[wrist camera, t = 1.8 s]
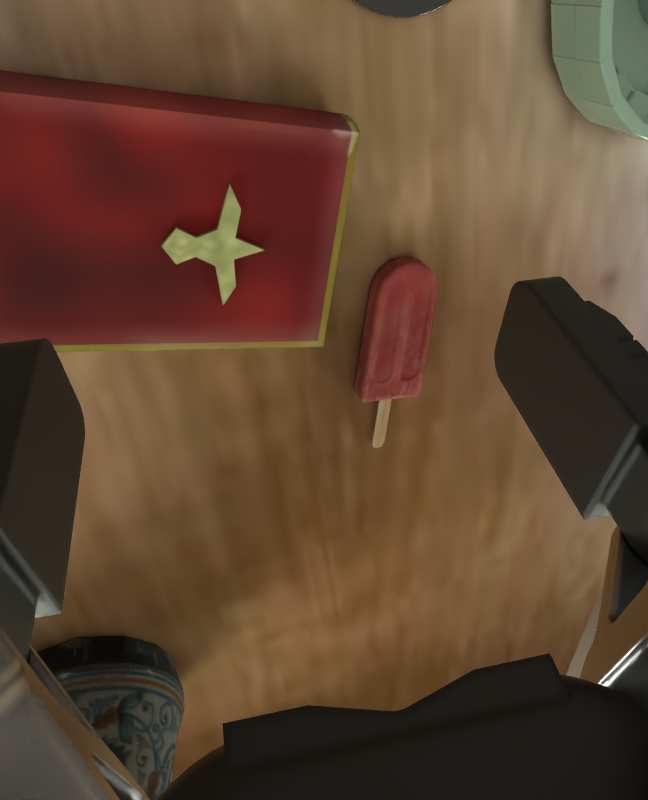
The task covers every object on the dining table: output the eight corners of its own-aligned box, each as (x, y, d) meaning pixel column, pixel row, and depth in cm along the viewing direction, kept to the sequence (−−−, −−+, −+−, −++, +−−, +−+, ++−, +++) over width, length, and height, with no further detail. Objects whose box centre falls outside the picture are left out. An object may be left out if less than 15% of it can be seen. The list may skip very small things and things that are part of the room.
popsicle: (354, 458, 42) (380, 266, 34) (346, 444, 44) (370, 256, 35) (409, 450, 44) (447, 263, 35) (399, 436, 45) (435, 253, 37)
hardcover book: (-159, 44, 23) (-203, 55, 19) (334, 108, 29) (363, 124, 26) (-84, 316, 29) (-108, 358, 26) (304, 316, 36) (324, 349, 33)
